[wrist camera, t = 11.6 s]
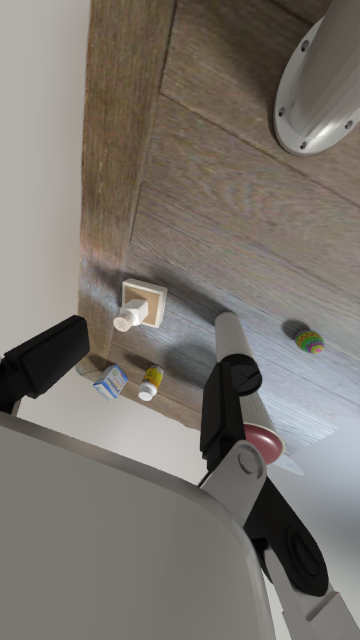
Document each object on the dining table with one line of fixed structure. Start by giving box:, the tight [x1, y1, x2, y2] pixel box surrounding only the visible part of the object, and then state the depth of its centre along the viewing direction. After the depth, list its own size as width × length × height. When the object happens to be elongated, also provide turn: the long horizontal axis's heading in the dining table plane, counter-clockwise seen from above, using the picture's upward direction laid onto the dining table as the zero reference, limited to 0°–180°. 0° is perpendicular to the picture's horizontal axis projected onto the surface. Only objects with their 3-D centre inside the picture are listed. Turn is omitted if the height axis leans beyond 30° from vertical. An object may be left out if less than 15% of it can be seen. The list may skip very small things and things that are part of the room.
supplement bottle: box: [139, 365, 163, 401], centre depth 47 cm, size 6×6×10 cm
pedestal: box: [122, 278, 168, 328], centre depth 38 cm, size 10×10×4 cm
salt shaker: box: [113, 299, 148, 332], centre depth 32 cm, size 4×4×10 cm
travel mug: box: [215, 311, 262, 397], centre depth 30 cm, size 6×7×20 cm
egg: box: [295, 330, 324, 353], centre depth 34 cm, size 5×5×6 cm
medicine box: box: [93, 365, 128, 400], centre depth 52 cm, size 8×4×9 cm, turn 28°
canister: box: [239, 391, 285, 465], centre depth 40 cm, size 18×18×21 cm
